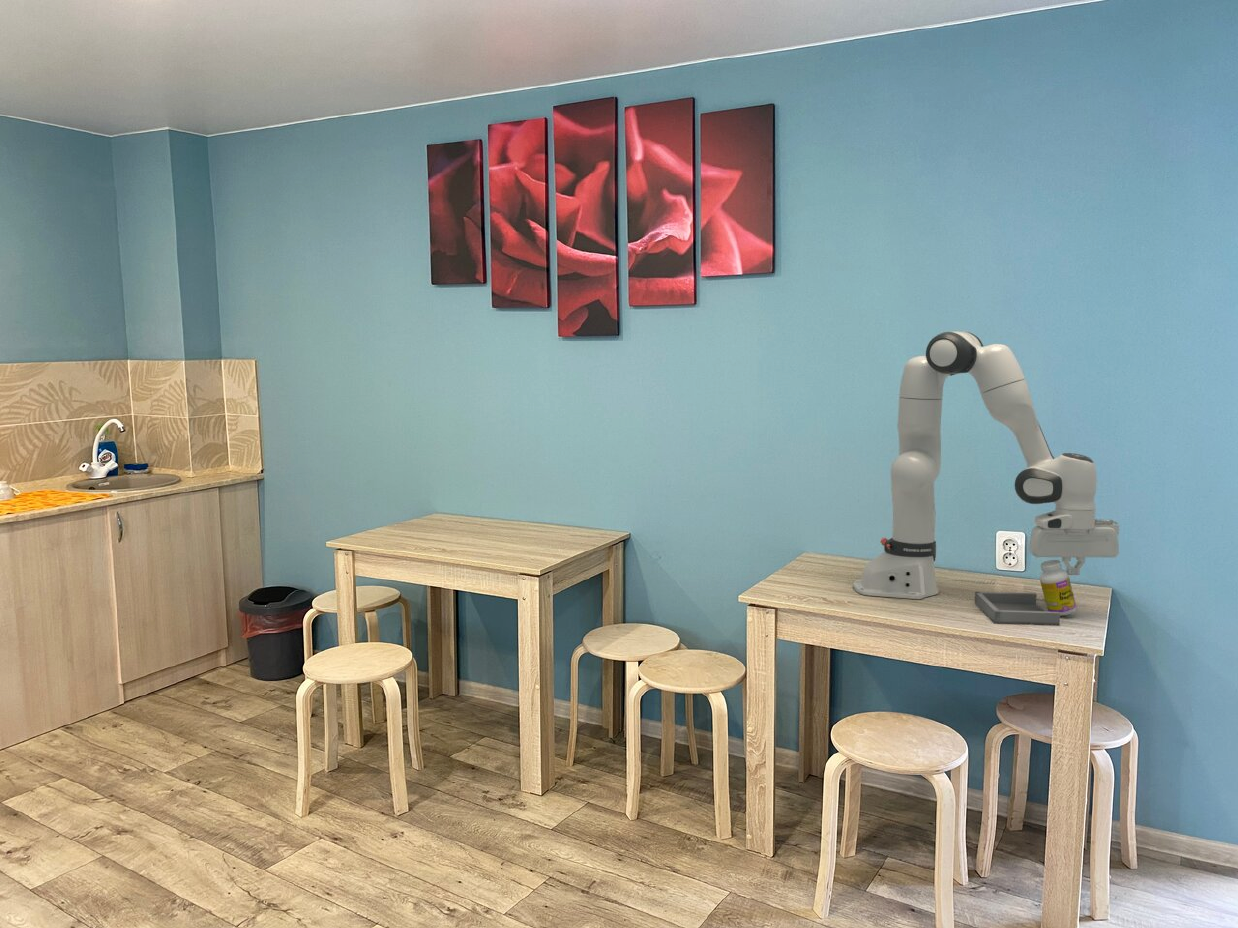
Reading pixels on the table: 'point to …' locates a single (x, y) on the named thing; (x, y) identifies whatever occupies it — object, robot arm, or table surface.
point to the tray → (1014, 608)
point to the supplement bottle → (1057, 588)
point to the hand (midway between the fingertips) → (1072, 574)
